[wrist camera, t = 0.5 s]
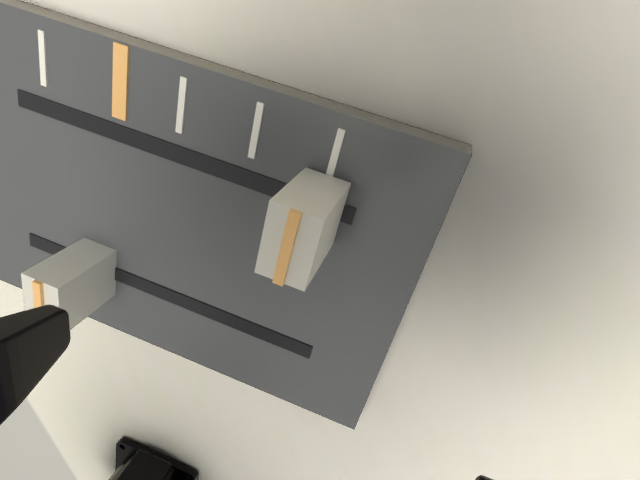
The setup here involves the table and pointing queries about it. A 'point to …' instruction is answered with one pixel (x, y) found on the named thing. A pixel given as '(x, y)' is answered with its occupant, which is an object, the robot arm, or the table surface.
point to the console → (207, 207)
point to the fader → (301, 228)
